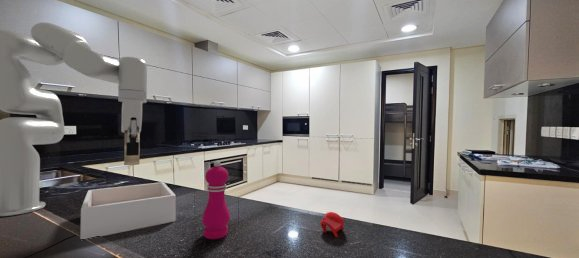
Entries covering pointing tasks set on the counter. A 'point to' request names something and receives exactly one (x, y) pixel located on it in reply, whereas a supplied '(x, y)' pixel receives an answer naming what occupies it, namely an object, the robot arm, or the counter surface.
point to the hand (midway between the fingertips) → (132, 154)
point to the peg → (135, 158)
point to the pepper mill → (216, 203)
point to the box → (126, 209)
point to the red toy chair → (332, 222)
